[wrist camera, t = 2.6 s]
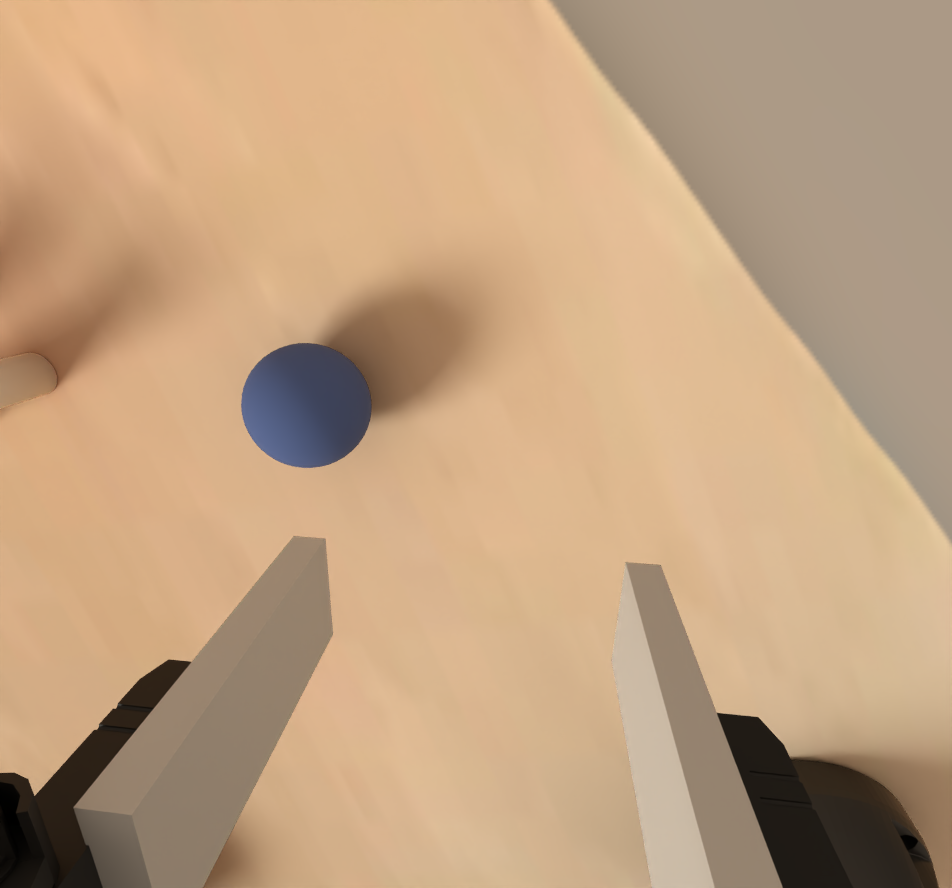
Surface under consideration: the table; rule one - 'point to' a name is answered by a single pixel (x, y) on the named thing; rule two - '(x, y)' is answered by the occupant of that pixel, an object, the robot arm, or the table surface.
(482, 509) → the table surface
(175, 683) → the robot arm
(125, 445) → the table surface
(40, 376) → the pin
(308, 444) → the ball
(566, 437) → the table surface
